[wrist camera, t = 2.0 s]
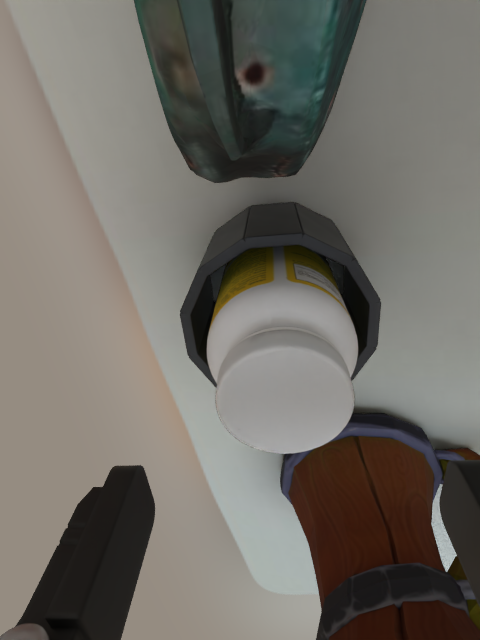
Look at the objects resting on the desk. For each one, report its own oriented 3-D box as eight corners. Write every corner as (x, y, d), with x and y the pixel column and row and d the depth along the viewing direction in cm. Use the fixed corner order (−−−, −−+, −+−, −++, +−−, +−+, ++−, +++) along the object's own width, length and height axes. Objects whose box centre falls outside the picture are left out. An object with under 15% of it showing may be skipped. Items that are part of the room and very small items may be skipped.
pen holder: (191, 210, 21) (165, 243, 15) (356, 196, 20) (388, 226, 15) (213, 346, 25) (197, 408, 20) (349, 339, 24) (372, 403, 19)
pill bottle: (227, 325, 24) (199, 468, 14) (220, 229, 21) (180, 326, 11) (326, 325, 24) (367, 472, 14) (333, 226, 21) (391, 325, 11)
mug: (539, 378, 24) (855, 688, 11) (520, 495, 30) (722, 800, 16) (265, 415, 27) (262, 693, 14) (292, 515, 33) (308, 786, 19)
